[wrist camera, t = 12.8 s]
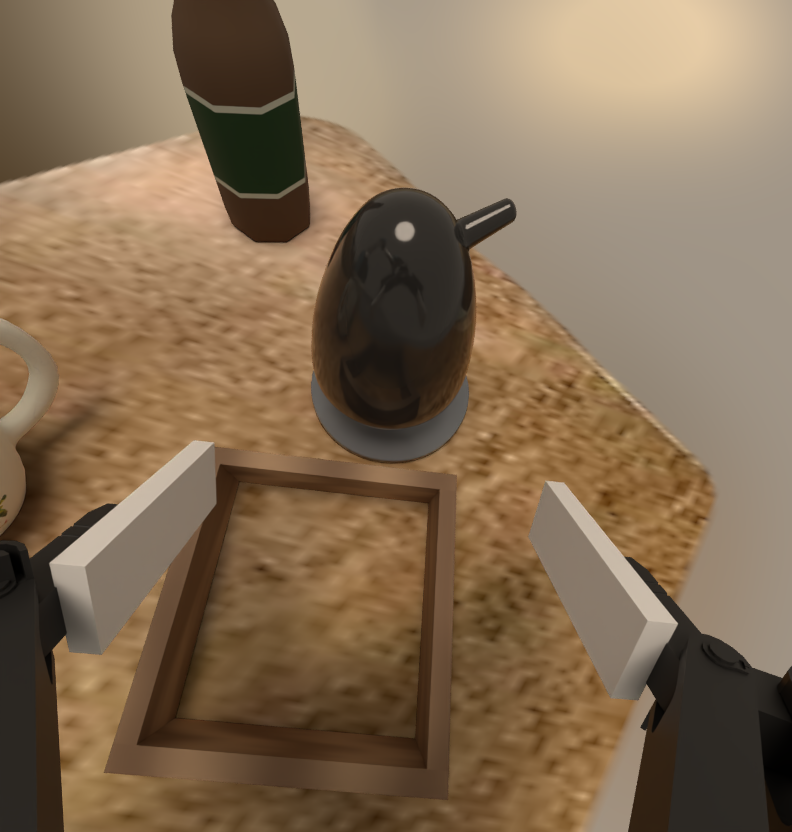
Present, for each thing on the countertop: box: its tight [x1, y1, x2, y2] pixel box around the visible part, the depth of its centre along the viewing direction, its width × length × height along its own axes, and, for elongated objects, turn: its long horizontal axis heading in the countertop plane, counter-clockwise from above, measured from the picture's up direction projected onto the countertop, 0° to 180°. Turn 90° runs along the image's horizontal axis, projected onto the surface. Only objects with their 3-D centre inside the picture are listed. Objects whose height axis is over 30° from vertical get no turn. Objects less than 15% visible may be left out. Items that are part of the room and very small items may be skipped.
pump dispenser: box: [311, 188, 516, 430], centre depth 22 cm, size 10×10×15 cm
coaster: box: [311, 371, 469, 463], centre depth 30 cm, size 12×12×1 cm
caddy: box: [104, 447, 457, 800], centre depth 22 cm, size 15×15×4 cm
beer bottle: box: [172, 0, 310, 242], centre depth 26 cm, size 8×8×24 cm
